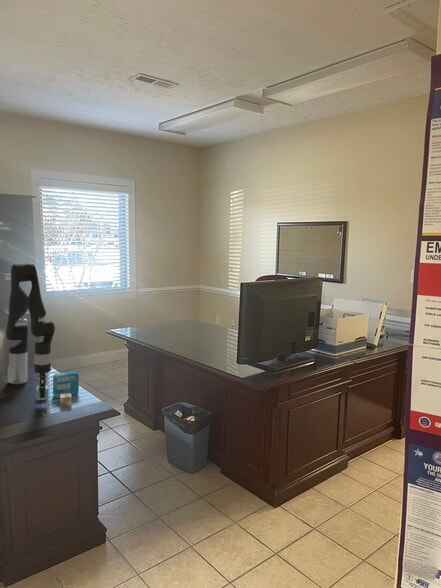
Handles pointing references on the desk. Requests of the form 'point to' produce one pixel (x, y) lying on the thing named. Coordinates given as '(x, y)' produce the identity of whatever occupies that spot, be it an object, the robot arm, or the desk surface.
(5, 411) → the desk surface
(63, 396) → the maple block
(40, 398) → the teal block
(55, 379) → the data package
